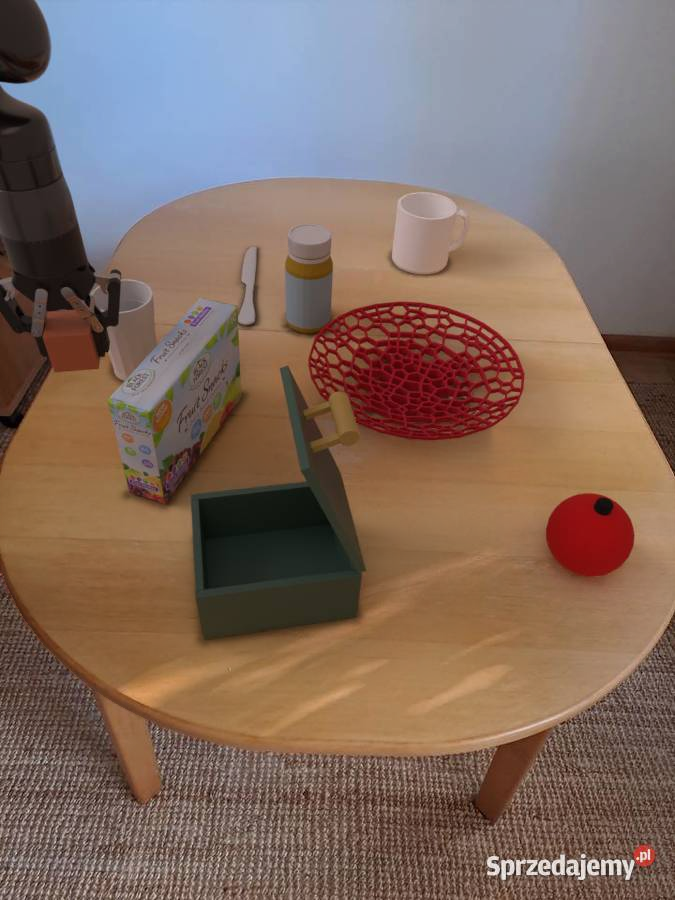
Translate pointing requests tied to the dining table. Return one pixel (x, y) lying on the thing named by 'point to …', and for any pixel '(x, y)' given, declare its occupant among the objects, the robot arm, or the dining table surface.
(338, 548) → the chest
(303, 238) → the bottle
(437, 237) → the mug
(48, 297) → the robot arm
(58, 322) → the block
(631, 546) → the ornament
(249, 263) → the butter knife
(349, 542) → the lid
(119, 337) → the cup
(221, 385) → the snack box
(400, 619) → the dining table surface
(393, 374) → the bowl
